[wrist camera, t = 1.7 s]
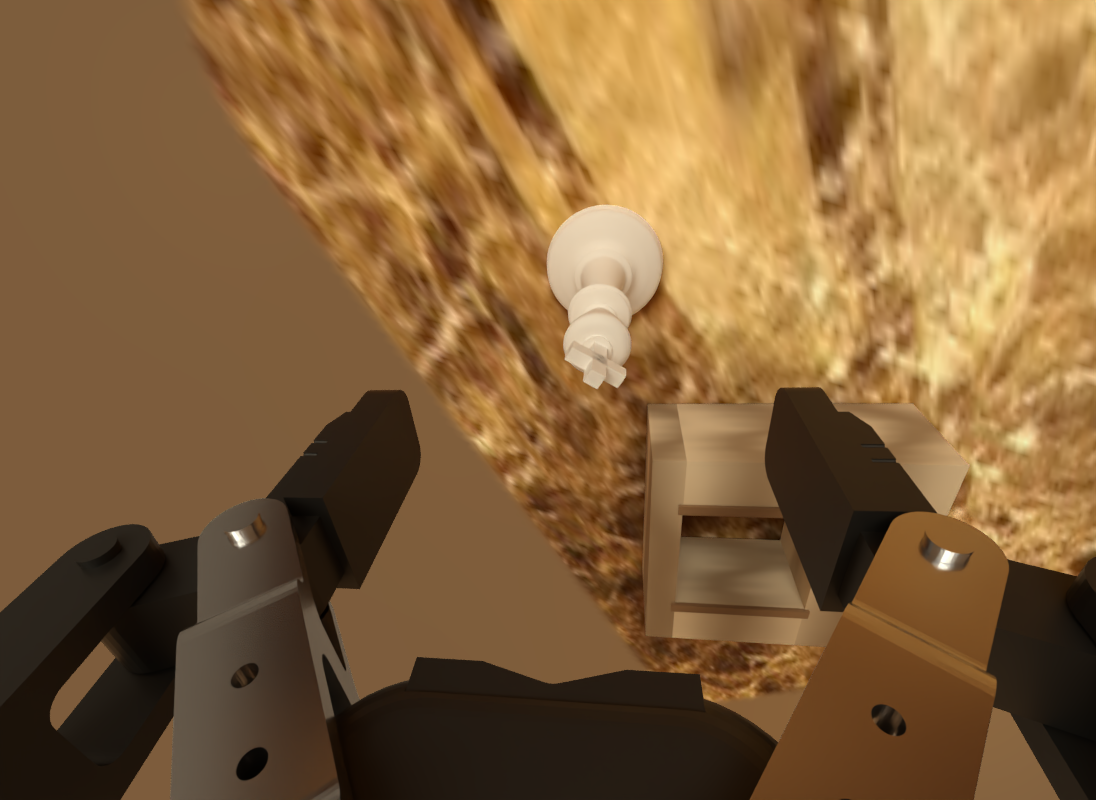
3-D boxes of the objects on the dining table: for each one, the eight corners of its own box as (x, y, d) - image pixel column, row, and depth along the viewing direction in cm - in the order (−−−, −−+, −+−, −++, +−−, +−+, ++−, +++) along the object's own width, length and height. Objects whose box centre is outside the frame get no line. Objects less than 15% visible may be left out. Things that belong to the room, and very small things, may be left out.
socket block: (912, 403, 23) (972, 467, 19) (851, 578, 30) (887, 653, 26) (647, 404, 25) (652, 463, 21) (642, 568, 31) (645, 638, 27)
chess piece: (621, 337, 23) (623, 480, 15) (527, 284, 23) (472, 403, 14) (687, 243, 21) (732, 351, 12) (583, 180, 20) (557, 249, 12)
